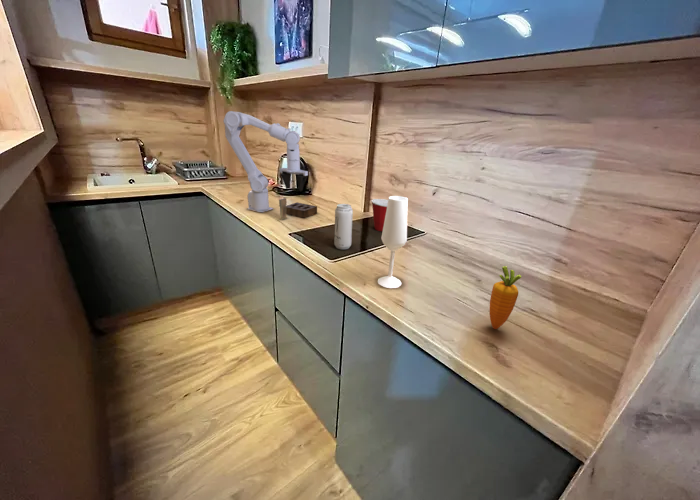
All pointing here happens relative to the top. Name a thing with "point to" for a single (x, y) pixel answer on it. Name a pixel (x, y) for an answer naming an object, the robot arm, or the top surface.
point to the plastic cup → (379, 212)
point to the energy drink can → (343, 226)
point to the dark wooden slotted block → (301, 210)
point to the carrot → (503, 298)
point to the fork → (283, 208)
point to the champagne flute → (394, 234)
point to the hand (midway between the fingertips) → (294, 189)
